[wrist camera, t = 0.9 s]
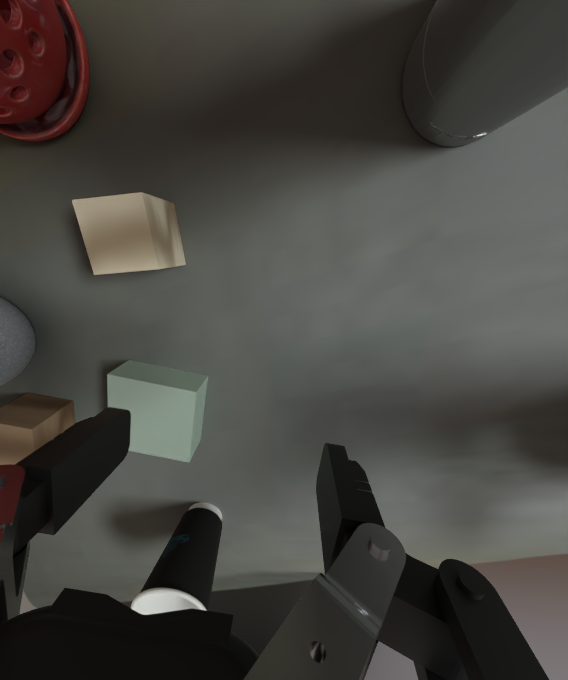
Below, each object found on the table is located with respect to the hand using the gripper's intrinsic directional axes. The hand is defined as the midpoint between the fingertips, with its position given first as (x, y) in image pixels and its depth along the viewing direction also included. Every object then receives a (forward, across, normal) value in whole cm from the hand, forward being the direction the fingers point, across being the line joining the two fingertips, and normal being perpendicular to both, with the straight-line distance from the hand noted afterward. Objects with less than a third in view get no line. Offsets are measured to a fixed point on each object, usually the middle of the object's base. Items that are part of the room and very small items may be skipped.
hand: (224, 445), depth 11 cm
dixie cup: (+21, +5, +27) cm, 34 cm away
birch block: (+18, +12, -8) cm, 23 cm away
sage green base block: (+20, +11, +10) cm, 24 cm away
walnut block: (+20, +25, +14) cm, 35 cm away
